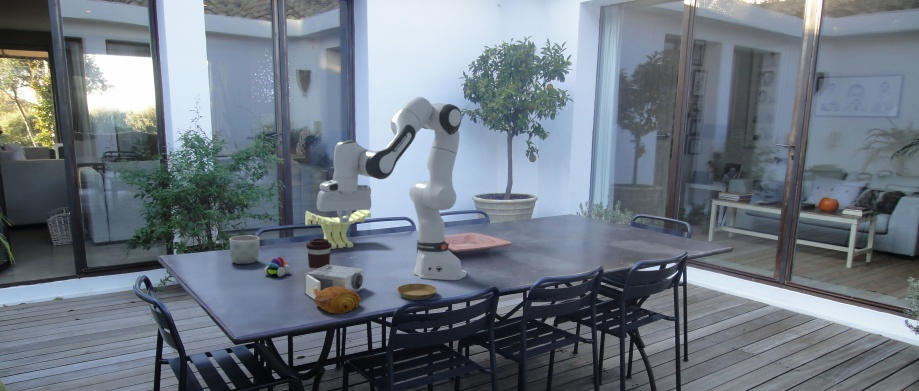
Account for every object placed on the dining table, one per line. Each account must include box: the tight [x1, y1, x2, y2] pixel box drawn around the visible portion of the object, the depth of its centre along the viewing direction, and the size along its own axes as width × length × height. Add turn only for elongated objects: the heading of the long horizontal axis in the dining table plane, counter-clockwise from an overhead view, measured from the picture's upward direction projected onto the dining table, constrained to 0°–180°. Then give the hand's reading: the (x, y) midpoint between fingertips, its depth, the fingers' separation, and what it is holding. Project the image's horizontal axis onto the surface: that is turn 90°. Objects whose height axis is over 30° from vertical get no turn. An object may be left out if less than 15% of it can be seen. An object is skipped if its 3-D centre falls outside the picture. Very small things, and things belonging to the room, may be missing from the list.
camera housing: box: [307, 264, 365, 293], centre depth 206 cm, size 17×14×8 cm
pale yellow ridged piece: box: [304, 210, 372, 250], centre depth 286 cm, size 30×16×18 cm, turn 117°
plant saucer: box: [396, 283, 438, 301], centre depth 204 cm, size 15×15×3 cm
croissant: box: [314, 286, 362, 314], centre depth 188 cm, size 14×16×8 cm
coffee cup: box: [305, 238, 332, 272], centre depth 225 cm, size 10×10×15 cm
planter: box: [229, 235, 260, 265], centre depth 245 cm, size 12×12×11 cm
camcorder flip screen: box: [303, 272, 320, 301], centre depth 197 cm, size 13×2×7 cm, turn 36°
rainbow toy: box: [263, 256, 291, 278], centre depth 226 cm, size 8×10×7 cm
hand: (344, 222), depth 202 cm, fingers closed
